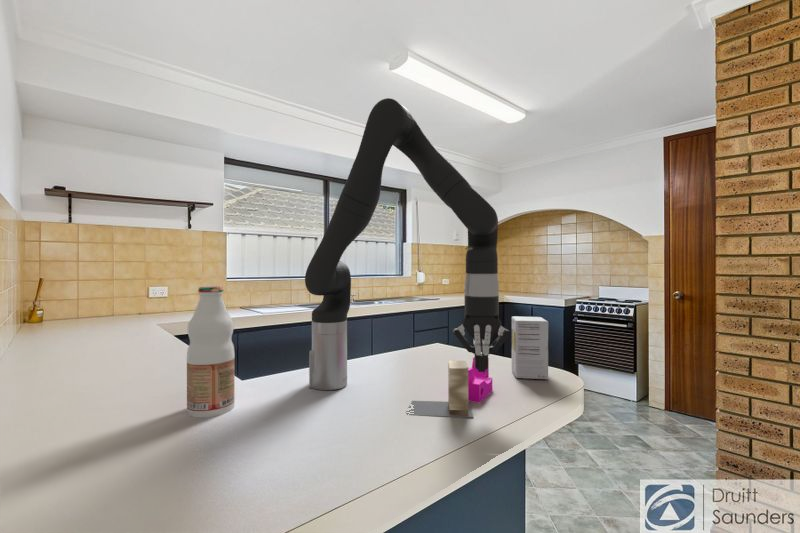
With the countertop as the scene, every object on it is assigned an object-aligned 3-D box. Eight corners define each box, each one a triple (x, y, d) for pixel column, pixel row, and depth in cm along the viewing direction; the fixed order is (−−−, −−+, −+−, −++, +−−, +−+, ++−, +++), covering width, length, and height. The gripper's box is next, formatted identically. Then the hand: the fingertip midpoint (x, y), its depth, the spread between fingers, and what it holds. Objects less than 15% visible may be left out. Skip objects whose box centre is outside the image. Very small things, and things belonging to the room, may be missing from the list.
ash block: (449, 414, 84) (449, 368, 84) (448, 403, 91) (448, 360, 91) (468, 414, 84) (468, 368, 84) (465, 403, 91) (465, 360, 91)
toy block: (479, 403, 92) (478, 371, 92) (454, 399, 96) (454, 368, 96) (497, 386, 105) (497, 359, 105) (475, 383, 108) (475, 356, 109)
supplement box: (511, 369, 122) (510, 315, 122) (541, 370, 121) (541, 316, 121) (515, 378, 112) (515, 320, 112) (549, 379, 111) (549, 320, 111)
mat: (398, 416, 84) (398, 414, 84) (402, 401, 93) (402, 400, 93) (473, 418, 83) (473, 416, 83) (469, 403, 92) (469, 402, 92)
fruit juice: (185, 426, 79) (185, 288, 79) (187, 411, 87) (187, 286, 87) (235, 418, 83) (235, 287, 83) (233, 404, 92) (233, 285, 92)
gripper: (452, 294, 84) (452, 375, 84) (515, 295, 83) (514, 376, 83) (450, 292, 92) (450, 366, 92) (508, 293, 90) (508, 367, 90)
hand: (481, 371), depth 87 cm, fingers closed
